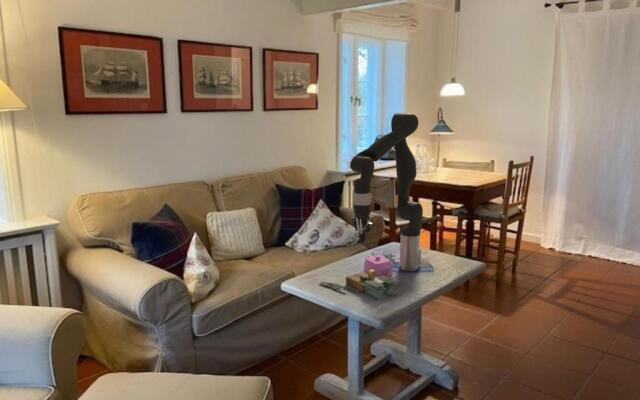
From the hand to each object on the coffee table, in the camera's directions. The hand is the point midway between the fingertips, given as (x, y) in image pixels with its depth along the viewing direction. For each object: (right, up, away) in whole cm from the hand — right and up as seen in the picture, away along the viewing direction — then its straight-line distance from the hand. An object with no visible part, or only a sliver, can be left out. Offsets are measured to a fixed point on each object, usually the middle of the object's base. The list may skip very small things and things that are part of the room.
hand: (362, 241), depth 214 cm
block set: (+4, -21, 0) cm, 22 cm away
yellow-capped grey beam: (+6, -18, -4) cm, 19 cm away
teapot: (+9, -18, +14) cm, 25 cm away
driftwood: (-11, -22, +1) cm, 24 cm away
